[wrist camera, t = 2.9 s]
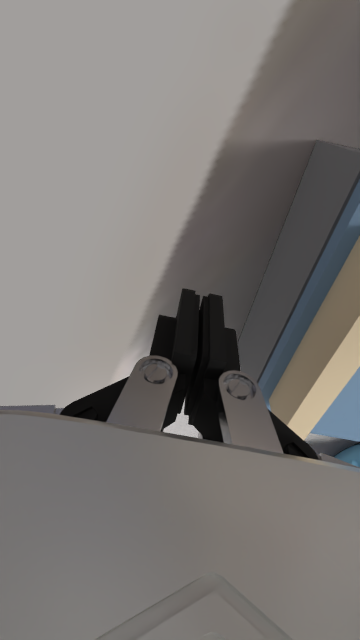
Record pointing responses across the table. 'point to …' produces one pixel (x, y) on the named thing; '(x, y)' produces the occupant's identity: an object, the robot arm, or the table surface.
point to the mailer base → (298, 250)
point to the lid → (323, 343)
